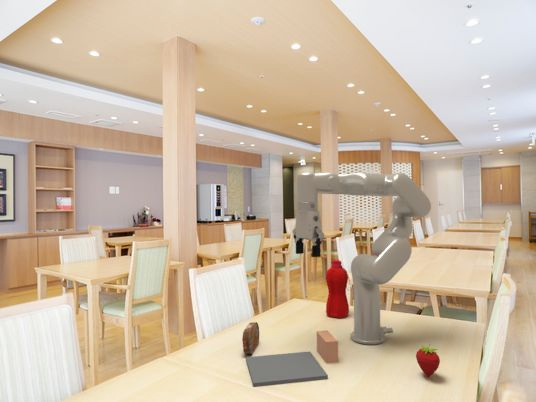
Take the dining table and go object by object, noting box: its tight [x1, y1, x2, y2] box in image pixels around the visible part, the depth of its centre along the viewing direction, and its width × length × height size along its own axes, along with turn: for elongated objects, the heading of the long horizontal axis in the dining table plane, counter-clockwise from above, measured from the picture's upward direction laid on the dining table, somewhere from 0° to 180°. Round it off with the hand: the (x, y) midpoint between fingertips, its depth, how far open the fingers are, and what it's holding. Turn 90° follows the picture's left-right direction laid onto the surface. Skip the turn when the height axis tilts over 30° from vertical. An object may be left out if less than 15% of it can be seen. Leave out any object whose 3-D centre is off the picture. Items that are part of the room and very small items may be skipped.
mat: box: [245, 350, 329, 387], centre depth 117 cm, size 22×18×1 cm
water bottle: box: [325, 259, 352, 319], centre depth 169 cm, size 9×11×25 cm
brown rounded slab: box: [241, 321, 260, 355], centre depth 133 cm, size 15×3×8 cm, turn 168°
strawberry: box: [415, 343, 441, 378], centre depth 110 cm, size 6×8×10 cm
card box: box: [316, 330, 339, 364], centre depth 125 cm, size 4×10×7 cm, turn 10°
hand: (307, 255), depth 134 cm, fingers open, 9 cm apart
